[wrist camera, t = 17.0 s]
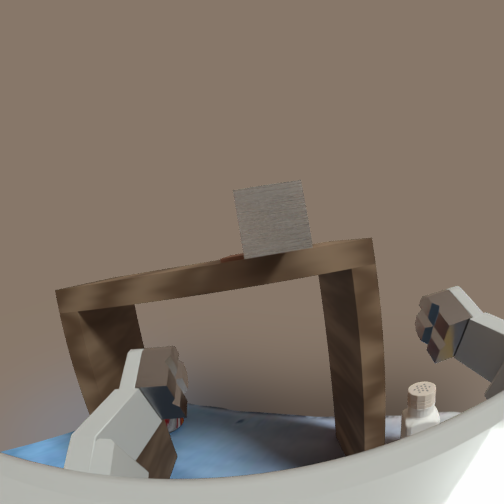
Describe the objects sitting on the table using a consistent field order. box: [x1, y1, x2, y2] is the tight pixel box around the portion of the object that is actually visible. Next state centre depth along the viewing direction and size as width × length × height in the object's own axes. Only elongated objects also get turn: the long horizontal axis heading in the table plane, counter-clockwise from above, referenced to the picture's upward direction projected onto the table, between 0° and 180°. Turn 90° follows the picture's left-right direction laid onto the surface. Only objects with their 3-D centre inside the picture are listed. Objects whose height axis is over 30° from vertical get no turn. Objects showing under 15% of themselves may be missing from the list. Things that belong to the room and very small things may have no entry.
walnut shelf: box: [55, 238, 385, 479], centre depth 29 cm, size 26×13×26 cm, turn 91°
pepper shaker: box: [400, 382, 440, 439], centre depth 27 cm, size 4×4×10 cm
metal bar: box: [233, 180, 313, 259], centre depth 25 cm, size 3×22×3 cm, turn 1°
